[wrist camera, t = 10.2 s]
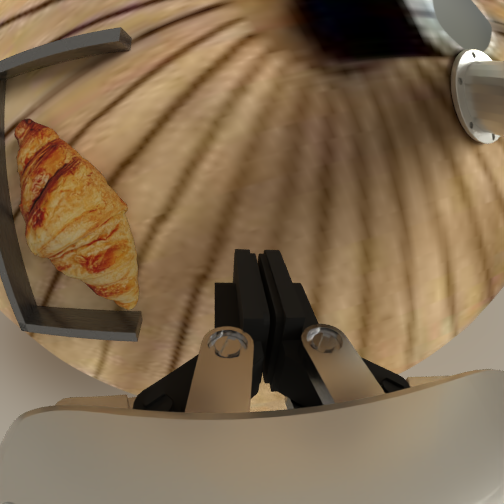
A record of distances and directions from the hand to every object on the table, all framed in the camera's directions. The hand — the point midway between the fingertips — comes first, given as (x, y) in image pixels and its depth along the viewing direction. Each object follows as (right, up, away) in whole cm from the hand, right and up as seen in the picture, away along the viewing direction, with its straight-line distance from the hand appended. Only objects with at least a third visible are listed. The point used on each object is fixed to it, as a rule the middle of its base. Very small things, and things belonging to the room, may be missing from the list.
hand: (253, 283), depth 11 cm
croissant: (-16, +5, +13) cm, 21 cm away
